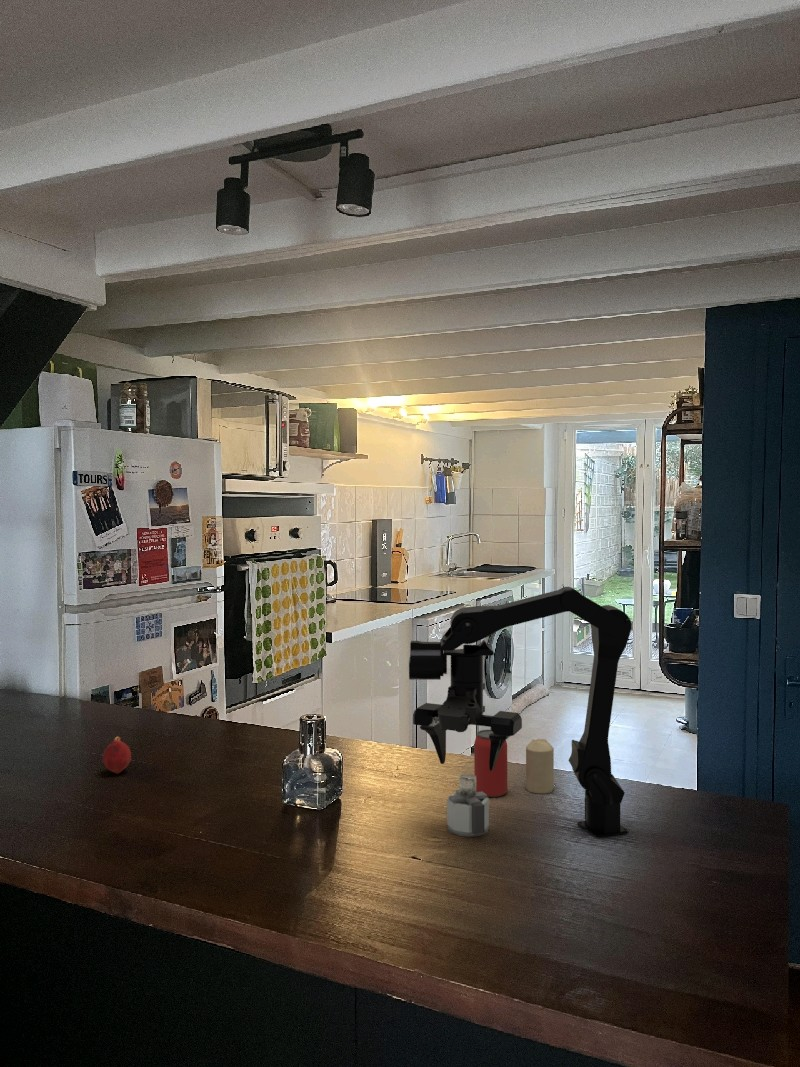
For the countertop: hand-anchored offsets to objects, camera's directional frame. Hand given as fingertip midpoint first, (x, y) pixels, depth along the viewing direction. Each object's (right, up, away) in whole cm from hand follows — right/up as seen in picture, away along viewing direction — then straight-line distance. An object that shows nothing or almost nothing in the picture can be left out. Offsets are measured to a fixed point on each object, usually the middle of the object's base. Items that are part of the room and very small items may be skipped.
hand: (466, 766), depth 146 cm
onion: (-73, -11, +32) cm, 81 cm away
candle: (+16, -11, +20) cm, 28 cm away
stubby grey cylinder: (0, -10, 0) cm, 10 cm away
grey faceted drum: (0, -11, 0) cm, 11 cm away
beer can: (+6, -11, +19) cm, 22 cm away
